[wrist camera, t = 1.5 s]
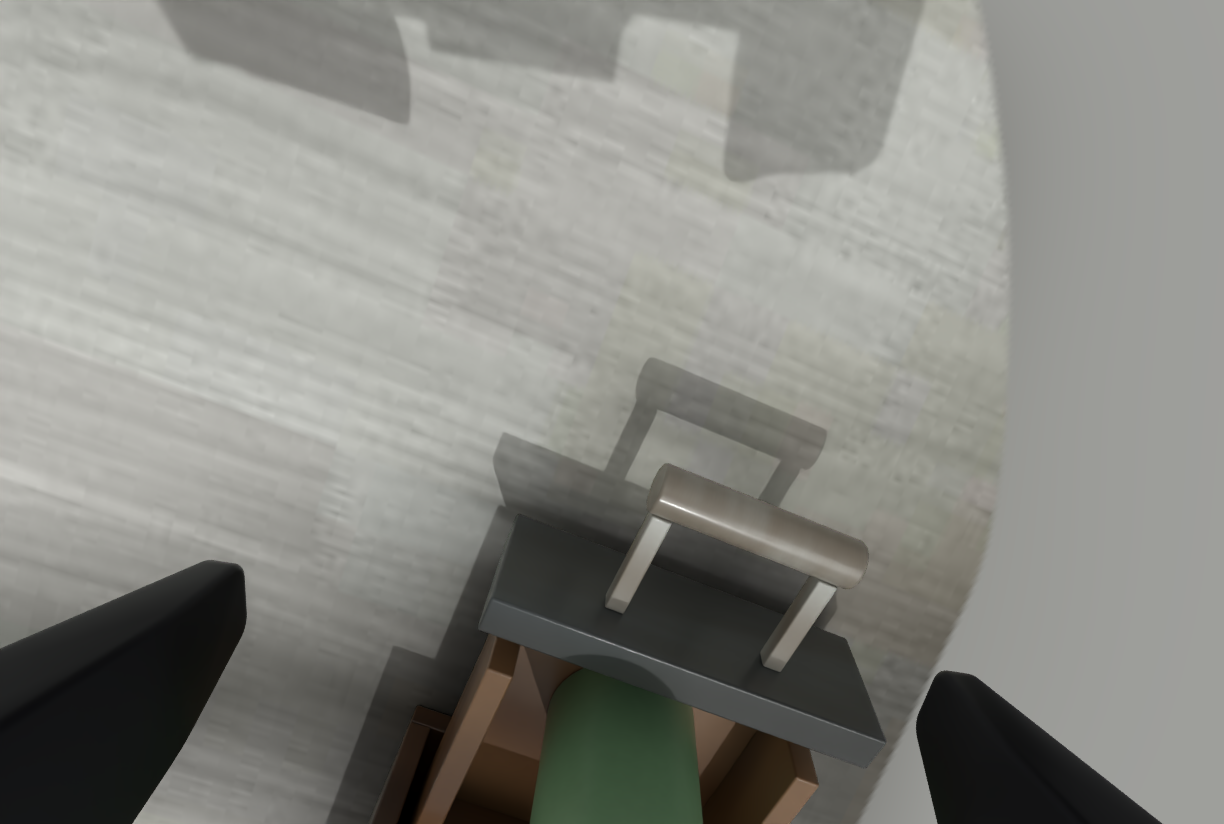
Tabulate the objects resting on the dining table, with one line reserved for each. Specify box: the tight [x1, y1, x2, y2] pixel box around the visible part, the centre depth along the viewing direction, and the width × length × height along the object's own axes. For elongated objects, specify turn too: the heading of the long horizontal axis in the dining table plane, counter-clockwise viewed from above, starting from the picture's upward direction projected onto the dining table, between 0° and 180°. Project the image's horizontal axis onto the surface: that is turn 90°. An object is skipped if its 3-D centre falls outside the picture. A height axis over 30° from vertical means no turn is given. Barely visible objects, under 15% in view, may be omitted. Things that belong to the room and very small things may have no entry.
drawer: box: [409, 463, 886, 824], centre depth 22 cm, size 17×12×4 cm
